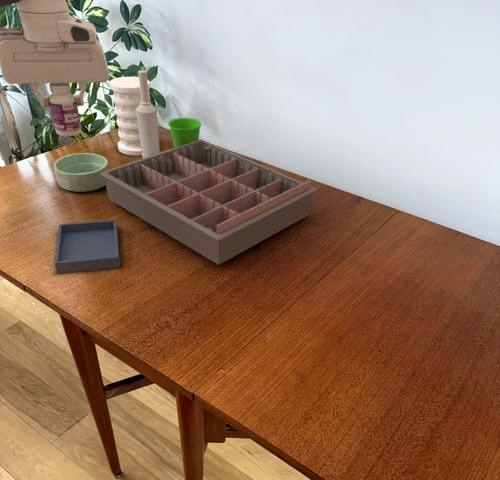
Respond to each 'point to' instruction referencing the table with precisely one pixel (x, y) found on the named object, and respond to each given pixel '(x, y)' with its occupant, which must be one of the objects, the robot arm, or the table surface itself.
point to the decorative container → (127, 113)
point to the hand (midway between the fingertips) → (63, 105)
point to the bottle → (147, 120)
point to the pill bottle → (64, 110)
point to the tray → (87, 246)
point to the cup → (184, 130)
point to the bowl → (81, 172)
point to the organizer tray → (209, 198)
